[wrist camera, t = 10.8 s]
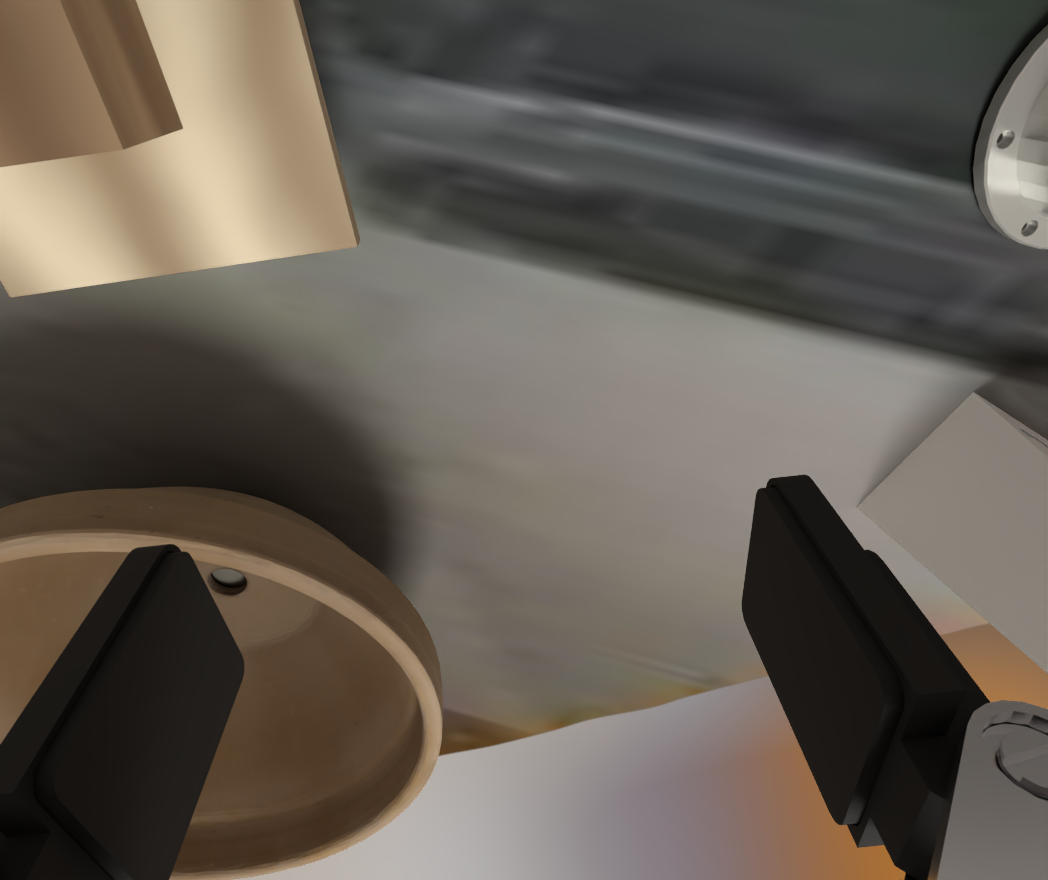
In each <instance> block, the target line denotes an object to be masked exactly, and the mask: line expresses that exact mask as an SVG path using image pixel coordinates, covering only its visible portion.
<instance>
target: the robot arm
mask: <svg viewBox="0 0 1048 880" xmlns="http://www.w3.org/2000/svg"><path fill="white" fill-rule="evenodd" d="M973 177H974V190H975V194H976V197H977V201H978V204H979V207H980V210H981V212H982V213H983V215H984V216H985V218H986V219H987V221H988V222H989V224H990V225H991V226H992V227H993V228H994V229H996V230H997V231H998V232H999V233H1000V234H1001V235H1003V236H1005V237H1007V238H1009V239H1011V240H1013V241H1016V242H1018V243H1021V244H1024V245H1027V246H1031V247H1034V248H1037V249H1048V25H1047V26H1046V27H1045V28H1044V29H1043V30H1042V31H1041V32H1040V33H1039V34H1038V35H1037V36H1036V37H1035V38H1034V39H1033V40H1032V41H1031V42H1030V43H1029V45H1028V46H1027V47H1026V48H1025V50H1024V51H1023V52H1022V53H1021V55H1020V56H1019V57H1018V58H1017V60H1016V61H1015V62H1014V63H1013V65H1012V66H1011V68H1010V69H1009V71H1008V73H1007V74H1006V76H1005V78H1004V79H1003V81H1002V83H1001V84H1000V86H999V87H998V89H997V91H996V92H995V95H994V97H993V99H992V101H991V103H990V106H989V108H988V110H987V112H986V115H985V117H984V119H983V122H982V126H981V129H980V133H979V136H978V140H977V143H976V148H975V157H974V165H973ZM742 612H743V617H744V621H745V623H746V626H747V628H748V630H749V633H750V635H751V637H752V639H753V642H754V644H755V646H756V648H757V651H758V653H759V655H760V657H761V660H762V662H763V664H764V666H765V669H766V671H767V673H768V675H769V678H770V680H771V682H772V684H773V687H774V689H775V691H776V693H777V696H778V698H779V700H780V702H781V704H782V707H783V709H784V711H785V714H786V716H787V718H788V720H789V722H790V725H791V727H792V729H793V731H794V734H795V736H796V738H797V740H798V743H799V745H800V747H801V749H802V751H803V754H804V756H805V758H806V760H807V763H808V765H809V767H810V770H811V772H812V774H813V776H814V779H815V781H816V783H817V785H818V787H819V790H820V792H821V794H822V797H823V799H824V801H825V803H826V806H827V808H828V810H829V812H830V814H831V816H832V818H833V819H834V821H835V822H836V823H837V824H839V825H846V824H847V826H848V828H849V830H850V832H851V834H852V837H853V839H854V841H855V843H856V845H857V847H858V848H859V847H868V846H877V845H885V847H886V849H887V851H888V853H889V855H890V857H891V859H892V861H893V863H894V865H895V866H896V867H898V868H900V869H901V873H900V878H899V880H1048V710H1047V709H1045V708H1041V707H1038V706H1035V705H1031V704H1028V703H1025V702H1017V701H1006V700H1001V701H997V702H991V703H990V701H989V700H988V699H987V698H986V696H985V695H984V693H983V692H982V691H981V690H980V688H979V687H978V685H977V684H976V683H975V682H974V680H973V679H972V678H971V676H970V675H969V674H968V672H967V671H966V670H965V668H964V667H963V666H962V664H961V663H960V662H959V661H958V659H957V658H956V656H955V655H954V654H953V652H952V651H951V650H950V649H949V647H948V646H947V645H946V643H945V642H944V641H943V639H942V638H941V637H940V635H939V634H938V633H937V631H936V630H935V629H934V627H933V626H932V625H931V623H930V622H929V621H928V619H927V618H926V617H925V615H924V614H923V613H922V612H921V610H920V609H919V608H918V606H917V605H916V604H915V602H914V601H913V600H912V598H911V597H910V596H909V594H908V593H907V592H906V590H905V589H904V588H903V586H902V585H901V584H900V582H899V581H898V580H897V579H896V577H895V576H894V575H893V573H892V572H891V571H890V569H889V568H888V567H887V565H886V564H885V563H884V561H883V560H882V559H881V558H880V557H879V556H878V555H877V554H876V553H874V552H872V551H870V550H864V549H863V548H862V547H861V545H860V544H859V542H858V541H857V540H856V538H855V537H854V536H853V534H852V533H851V532H850V530H849V529H848V528H847V526H846V525H845V523H844V522H843V521H842V519H841V518H840V517H839V515H838V514H837V513H836V511H835V510H834V509H833V507H832V506H831V504H830V503H829V502H828V500H827V499H826V498H825V496H824V495H823V494H822V492H821V491H820V490H819V488H818V487H817V485H816V484H815V483H814V481H813V480H812V479H811V478H810V477H809V476H807V475H798V476H788V477H779V478H772V479H769V481H768V483H767V486H766V488H760V489H758V491H757V494H756V500H755V507H754V514H753V522H752V529H751V537H750V544H749V552H748V559H747V567H746V574H745V582H744V589H743V597H742ZM243 676H244V659H243V656H242V654H241V652H240V650H239V648H238V646H237V644H236V642H235V640H234V638H233V636H232V634H231V632H230V630H229V628H228V626H227V624H226V623H225V621H224V619H223V617H222V615H221V613H220V611H219V609H218V607H217V605H216V603H215V601H214V599H213V597H212V595H211V593H210V591H209V589H208V587H207V585H206V584H205V582H204V580H203V578H202V576H201V574H200V572H199V570H198V568H197V566H196V564H195V562H194V560H193V558H192V557H191V555H190V554H189V553H188V552H184V551H183V552H182V551H181V550H180V549H179V547H177V546H176V545H174V544H165V545H156V546H147V547H138V548H135V549H133V550H132V551H131V552H130V553H129V554H128V555H127V557H126V558H125V560H124V561H123V563H122V564H121V566H120V567H119V569H118V570H117V572H116V573H115V575H114V576H113V578H112V579H111V581H110V582H109V584H108V585H107V586H106V588H105V589H104V591H103V592H102V594H101V595H100V597H99V598H98V600H97V601H96V603H95V604H94V606H93V607H92V609H91V610H90V612H89V613H88V615H87V616H86V618H85V619H84V621H83V622H82V624H81V625H80V627H79V628H78V630H77V631H76V633H75V634H74V636H73V637H72V639H71V640H70V641H69V643H68V644H67V646H66V647H65V649H64V650H63V652H62V653H61V655H60V656H59V658H58V659H57V661H56V662H55V664H54V665H53V667H52V668H51V670H50V671H49V673H48V674H47V676H46V677H45V679H44V680H43V682H42V683H41V685H40V686H39V688H38V689H37V691H36V692H35V694H34V695H33V696H32V698H31V699H30V701H29V702H28V704H27V705H26V707H25V708H24V710H23V711H22V713H21V714H20V716H19V717H18V719H17V720H16V722H15V723H14V725H13V726H12V728H11V729H10V731H9V732H8V734H7V735H6V737H5V738H4V740H3V741H2V743H1V744H0V880H169V879H170V876H171V873H172V871H173V868H174V865H175V862H176V860H177V857H178V854H179V852H180V849H181V846H182V843H183V841H184V838H185V835H186V832H187V830H188V827H189V824H190V822H191V819H192V816H193V813H194V811H195V808H196V805H197V803H198V800H199V797H200V794H201V792H202V789H203V786H204V783H205V781H206V778H207V775H208V773H209V770H210V767H211V764H212V762H213V759H214V756H215V753H216V751H217V748H218V745H219V743H220V740H221V737H222V734H223V732H224V729H225V726H226V723H227V721H228V718H229V715H230V713H231V710H232V707H233V704H234V702H235V699H236V696H237V693H238V691H239V688H240V685H241V683H242V680H243Z"/></svg>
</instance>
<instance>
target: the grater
mask: <svg viewBox="0 0 1048 880" xmlns="http://www.w3.org/2000/svg"><path fill="white" fill-rule="evenodd" d="M1019 428H1020V429H1022V430H1024V431H1026V432H1027V433H1029V434H1030V435H1032V436H1034V437H1035V438H1037V439H1038V440H1040V441H1041V442H1043V443H1044V444H1046V445H1047V446H1048V440H1047V439H1045V438H1044V437H1042V436H1041V435H1039V434H1037V433H1036V432H1034V431H1033V430H1031V429H1030V428H1028V427H1027V426H1025V425H1024V424H1022V423H1021V422H1019V421H1017V420H1016V419H1014V418H1013V417H1011V416H1010V415H1008V414H1007V413H1005V412H1004V411H1002V410H1001V409H999V408H997V407H996V406H994V405H993V404H991V403H990V402H988V401H987V400H985V399H984V398H982V397H981V396H979V395H977V394H976V393H974V392H973V393H972V394H971V395H970V396H969V397H968V398H967V399H966V400H965V401H964V402H963V403H962V404H960V405H959V406H958V407H957V408H956V409H955V410H954V411H953V412H952V413H951V414H950V415H949V416H948V417H947V418H946V419H945V420H944V421H943V422H942V423H941V424H940V425H939V426H938V427H937V428H936V429H935V430H934V431H933V432H932V433H931V434H930V435H929V436H928V437H927V438H926V439H925V440H924V441H923V442H922V443H921V444H920V445H919V446H918V447H917V448H916V449H915V450H914V451H913V452H912V453H911V454H910V455H909V456H908V457H907V458H906V459H905V460H904V461H903V462H902V463H901V464H900V465H899V466H898V467H897V468H896V469H895V470H893V471H892V472H891V473H890V474H889V475H888V476H887V477H886V478H885V479H884V480H883V481H882V482H881V483H880V484H879V485H878V486H877V487H876V488H875V489H874V490H873V491H872V492H871V493H870V494H869V495H868V496H867V497H866V498H865V499H864V500H863V501H862V502H861V503H860V504H859V505H858V506H857V508H858V509H859V510H860V511H862V512H863V513H864V514H865V515H866V516H867V517H868V518H870V519H871V520H872V521H873V522H874V523H875V524H876V525H878V526H879V527H880V528H881V529H882V530H883V531H884V532H886V533H887V534H888V535H889V536H890V537H891V538H893V539H894V540H895V541H896V542H897V543H898V544H899V545H901V546H902V547H903V548H904V549H905V550H906V551H907V552H909V553H910V554H911V555H912V556H913V557H914V558H916V559H917V560H918V561H919V562H920V563H921V564H922V565H924V566H925V567H926V568H927V569H928V570H929V571H930V572H932V573H933V574H934V575H935V576H936V577H937V578H939V579H940V580H941V581H942V582H943V583H944V584H945V585H947V586H948V587H949V588H950V589H951V590H952V591H953V592H955V593H956V594H957V595H958V596H959V597H960V598H962V599H963V600H964V601H965V602H966V603H967V604H968V605H970V606H971V607H972V608H973V609H974V610H975V611H976V612H978V613H979V614H980V615H981V616H982V617H983V618H984V619H986V620H987V621H988V622H989V623H990V624H992V625H993V626H994V627H995V628H996V629H997V630H998V631H1000V632H1001V633H1002V634H1003V635H1004V636H1005V637H1006V638H1008V639H1009V640H1010V641H1011V642H1012V643H1013V644H1015V645H1016V646H1017V647H1018V648H1019V649H1020V650H1021V651H1023V652H1024V653H1025V654H1026V655H1027V656H1028V657H1029V658H1030V659H1032V660H1033V661H1034V662H1035V663H1036V664H1038V665H1039V666H1040V667H1041V668H1042V669H1043V670H1044V671H1045V672H1047V673H1048V447H1046V446H1045V445H1043V444H1041V443H1040V442H1038V441H1037V440H1035V439H1034V438H1032V437H1028V436H1027V435H1026V434H1025V433H1024V432H1023V431H1021V430H1020V429H1019Z"/></svg>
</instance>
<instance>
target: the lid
mask: <svg viewBox="0 0 1048 880" xmlns="http://www.w3.org/2000/svg"><path fill="white" fill-rule="evenodd" d="M359 242H360V237H359V233H358V229H357V225H356V221H355V217H354V213H353V209H352V205H351V201H350V198H349V194H348V190H347V186H346V182H345V178H344V174H343V170H342V166H341V163H340V159H339V155H338V151H337V147H336V143H335V139H334V135H333V131H332V127H331V124H330V120H329V116H328V112H327V108H326V104H325V100H324V96H323V92H322V88H321V85H320V81H319V77H318V73H317V69H316V65H315V61H314V57H313V53H312V50H311V46H310V42H309V38H308V34H307V30H306V26H305V22H304V18H303V14H302V11H301V7H300V3H299V0H0V281H1V282H2V284H3V286H4V288H5V289H6V291H7V293H8V294H9V296H10V298H11V297H17V296H24V295H31V294H38V293H45V292H52V291H58V290H65V289H72V288H79V287H86V286H93V285H99V284H106V283H113V282H120V281H127V280H134V279H140V278H147V277H154V276H161V275H168V274H174V273H181V272H188V271H195V270H202V269H209V268H215V267H222V266H229V265H236V264H243V263H250V262H256V261H263V260H270V259H277V258H284V257H290V256H297V255H304V254H311V253H318V252H325V251H331V250H338V249H345V248H352V247H357V246H358V244H359Z"/></svg>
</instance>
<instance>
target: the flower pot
mask: <svg viewBox="0 0 1048 880" xmlns="http://www.w3.org/2000/svg"><path fill="white" fill-rule="evenodd" d="M165 544H174V545H176V546H177V547H179V549H180V550H181V551H182V552H183V551H184V552H188V553H189V554H190V555H191V557H192V558H193V560H194V562H195V564H196V566H197V568H198V570H199V572H200V574H201V576H202V578H203V580H204V582H205V584H206V585H207V587H208V589H209V591H210V593H211V595H212V597H213V599H214V601H215V603H216V605H217V607H218V609H219V611H220V613H221V615H222V617H223V619H224V621H225V623H226V624H227V626H228V628H229V630H230V632H231V634H232V636H233V638H234V640H235V642H236V644H237V646H238V648H239V650H240V652H241V654H242V656H243V659H244V676H243V680H242V683H241V685H240V688H239V691H238V693H237V696H236V699H235V702H234V704H233V707H232V710H231V713H230V715H229V718H228V721H227V723H226V726H225V729H224V732H223V734H222V737H221V740H220V743H219V745H218V748H217V751H216V753H215V756H214V759H213V762H212V764H211V767H210V770H209V773H208V775H207V778H206V781H205V783H204V786H203V789H202V792H201V794H200V797H199V800H198V803H197V805H196V808H195V811H194V813H193V816H192V819H191V822H190V824H189V827H188V830H187V832H186V835H185V838H184V841H183V843H182V846H181V849H180V852H179V854H178V857H177V860H176V862H175V865H174V868H173V871H172V873H171V876H170V879H169V880H231V879H239V878H247V877H253V876H259V875H264V874H269V873H274V872H278V871H283V870H286V869H290V868H294V867H298V866H302V865H305V864H308V863H312V862H315V861H318V860H321V859H323V858H326V857H328V856H331V855H333V854H336V853H338V852H340V851H343V850H345V849H347V848H349V847H350V846H353V845H355V844H357V843H359V842H361V841H362V840H364V839H366V838H367V837H369V836H371V835H372V834H374V833H376V832H377V831H379V830H380V829H382V828H383V827H384V826H386V825H387V824H389V823H390V822H391V821H392V820H394V819H395V818H396V817H397V816H398V815H399V814H401V812H403V811H404V810H405V809H406V808H407V807H408V806H409V805H410V804H411V803H412V802H413V800H414V799H415V798H416V797H417V796H418V795H419V793H420V792H421V791H422V789H423V787H424V786H425V785H426V783H427V781H428V779H429V778H430V776H431V774H432V772H433V769H434V767H435V764H436V761H437V758H438V755H439V751H440V746H441V740H442V721H443V698H442V682H441V673H440V665H439V660H438V656H437V652H436V649H435V646H434V644H433V641H432V638H431V636H430V633H429V631H428V629H427V628H426V626H425V624H424V622H423V620H422V619H421V617H420V615H419V614H418V612H417V611H416V609H415V608H414V607H413V605H412V604H411V603H410V601H409V600H408V599H407V598H406V597H405V595H404V594H403V593H402V592H401V591H400V590H399V589H398V588H397V587H396V586H395V585H394V583H393V582H392V581H391V580H390V579H389V578H388V577H386V576H385V575H384V574H383V573H382V572H380V571H379V570H378V569H377V568H376V567H374V566H373V565H372V564H370V563H369V562H368V561H366V560H365V559H364V558H362V557H361V556H359V555H358V554H356V553H355V552H353V551H352V550H351V549H350V548H349V547H348V546H346V545H345V544H344V543H342V542H341V541H340V540H339V539H338V538H336V537H335V536H333V535H332V534H331V533H329V532H328V531H327V530H325V529H324V528H322V527H321V526H319V525H318V524H316V523H314V522H313V521H311V520H309V519H307V518H306V517H304V516H302V515H300V514H298V513H296V512H294V511H292V510H290V509H287V508H285V507H283V506H281V505H278V504H275V503H273V502H270V501H267V500H264V499H261V498H258V497H254V496H251V495H247V494H243V493H238V492H233V491H228V490H222V489H214V488H204V487H183V486H180V487H154V488H138V489H99V490H85V491H75V492H68V493H62V494H56V495H50V496H44V497H39V498H35V499H31V500H27V501H23V502H19V503H15V504H11V505H8V506H6V507H3V508H0V744H1V743H2V741H3V740H4V738H5V737H6V735H7V734H8V732H9V731H10V729H11V728H12V726H13V725H14V723H15V722H16V720H17V719H18V717H19V716H20V714H21V713H22V711H23V710H24V708H25V707H26V705H27V704H28V702H29V701H30V699H31V698H32V696H33V695H34V694H35V692H36V691H37V689H38V688H39V686H40V685H41V683H42V682H43V680H44V679H45V677H46V676H47V674H48V673H49V671H50V670H51V668H52V667H53V665H54V664H55V662H56V661H57V659H58V658H59V656H60V655H61V653H62V652H63V650H64V649H65V647H66V646H67V644H68V643H69V641H70V640H71V639H72V637H73V636H74V634H75V633H76V631H77V630H78V628H79V627H80V625H81V624H82V622H83V621H84V619H85V618H86V616H87V615H88V613H89V612H90V610H91V609H92V607H93V606H94V604H95V603H96V601H97V600H98V598H99V597H100V595H101V594H102V592H103V591H104V589H105V588H106V586H107V585H108V584H109V582H110V581H111V579H112V578H113V576H114V575H115V573H116V572H117V570H118V569H119V567H120V566H121V564H122V563H123V561H124V560H125V558H126V557H127V555H128V554H129V553H130V552H131V551H132V550H133V549H135V548H138V547H147V546H156V545H165ZM218 569H232V570H235V571H237V572H239V573H241V574H243V575H244V577H245V578H246V580H247V583H246V584H245V585H243V586H241V587H237V588H228V587H224V586H221V585H220V584H218V583H216V582H215V580H214V579H213V578H212V575H211V574H212V572H214V571H215V570H218Z"/></svg>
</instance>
